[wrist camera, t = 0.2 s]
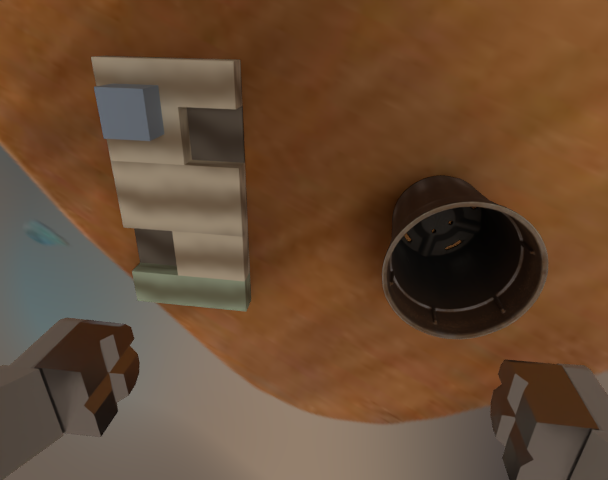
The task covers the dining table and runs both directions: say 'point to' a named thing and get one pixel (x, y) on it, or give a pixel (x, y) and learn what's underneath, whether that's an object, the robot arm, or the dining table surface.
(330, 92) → the dining table surface
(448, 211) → the plant pot
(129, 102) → the slate block
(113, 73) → the wooden cutout board
